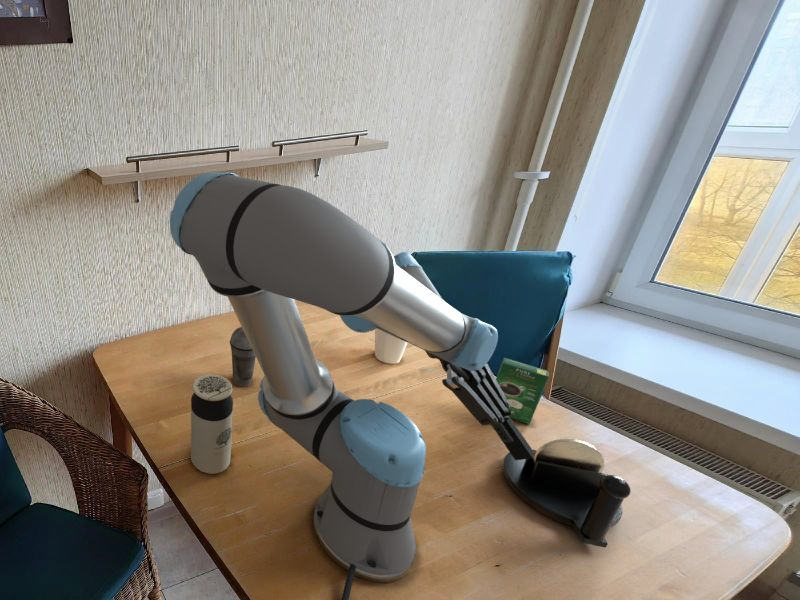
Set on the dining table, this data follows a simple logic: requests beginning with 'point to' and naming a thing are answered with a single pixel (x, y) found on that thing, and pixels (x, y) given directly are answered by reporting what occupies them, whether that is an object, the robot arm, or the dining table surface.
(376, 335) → the foam cup
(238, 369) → the beverage cup
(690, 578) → the dining table surface
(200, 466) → the travel mug
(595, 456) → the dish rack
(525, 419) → the coffee box
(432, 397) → the dining table surface
